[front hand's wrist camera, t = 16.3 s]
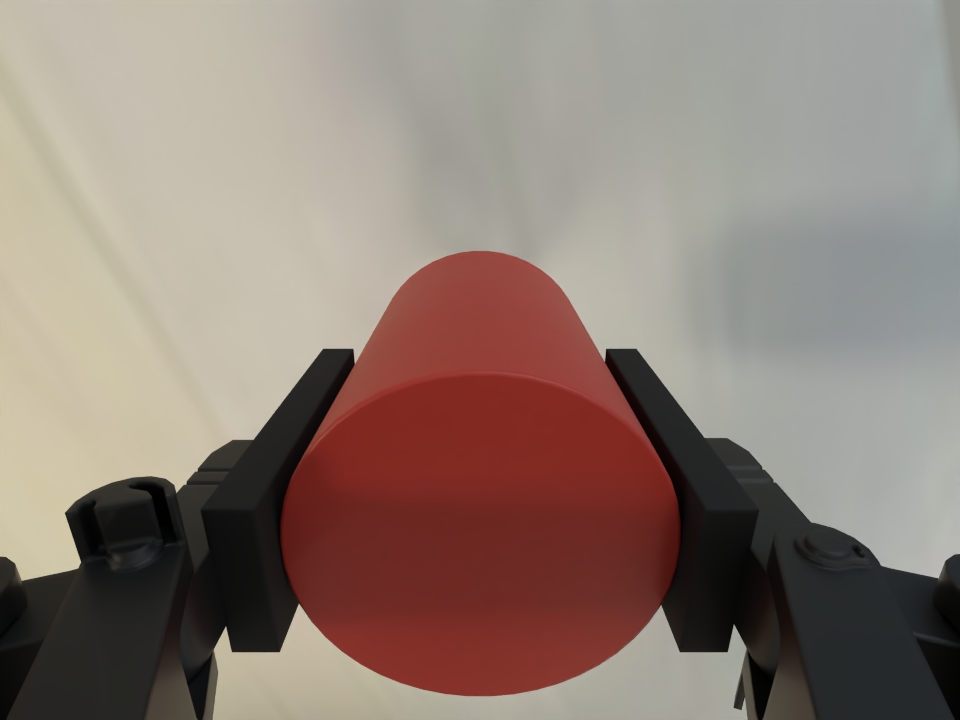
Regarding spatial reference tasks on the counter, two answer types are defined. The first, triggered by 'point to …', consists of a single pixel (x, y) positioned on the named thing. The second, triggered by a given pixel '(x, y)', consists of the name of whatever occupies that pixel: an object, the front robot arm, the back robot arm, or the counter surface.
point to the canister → (480, 492)
